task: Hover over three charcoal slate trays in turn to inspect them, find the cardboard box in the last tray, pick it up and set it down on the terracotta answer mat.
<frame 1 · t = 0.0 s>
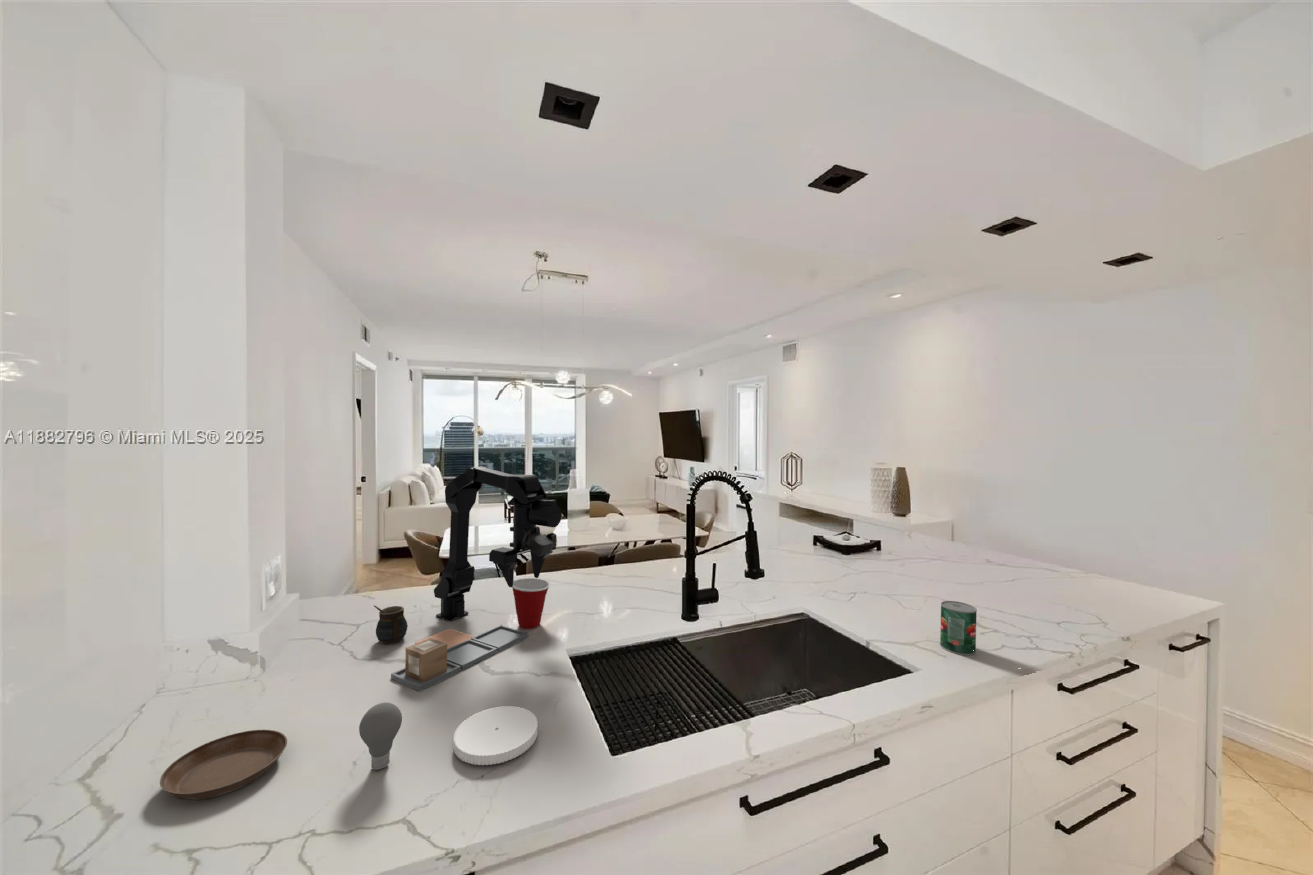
hand: (523, 582, 125), 15 cm above the worktop, fingers open, 9 cm apart
plastic cup: (530, 625, 134), on the worktop
mate gourd: (390, 641, 122), on the worktop
light bulb: (380, 767, 77), on the worktop
answer mat: (445, 641, 123), on the worktop
canned tomato: (957, 649, 124), on the worktop
plastic lid: (496, 744, 84), on the worktop
tray A: (426, 674, 106), on the worktop
tray B: (466, 655, 115), on the worktop
saucer: (227, 776, 75), on the worktop
tray C: (499, 639, 124), on the worktop
cardboard box: (426, 672, 106), resting on tray A
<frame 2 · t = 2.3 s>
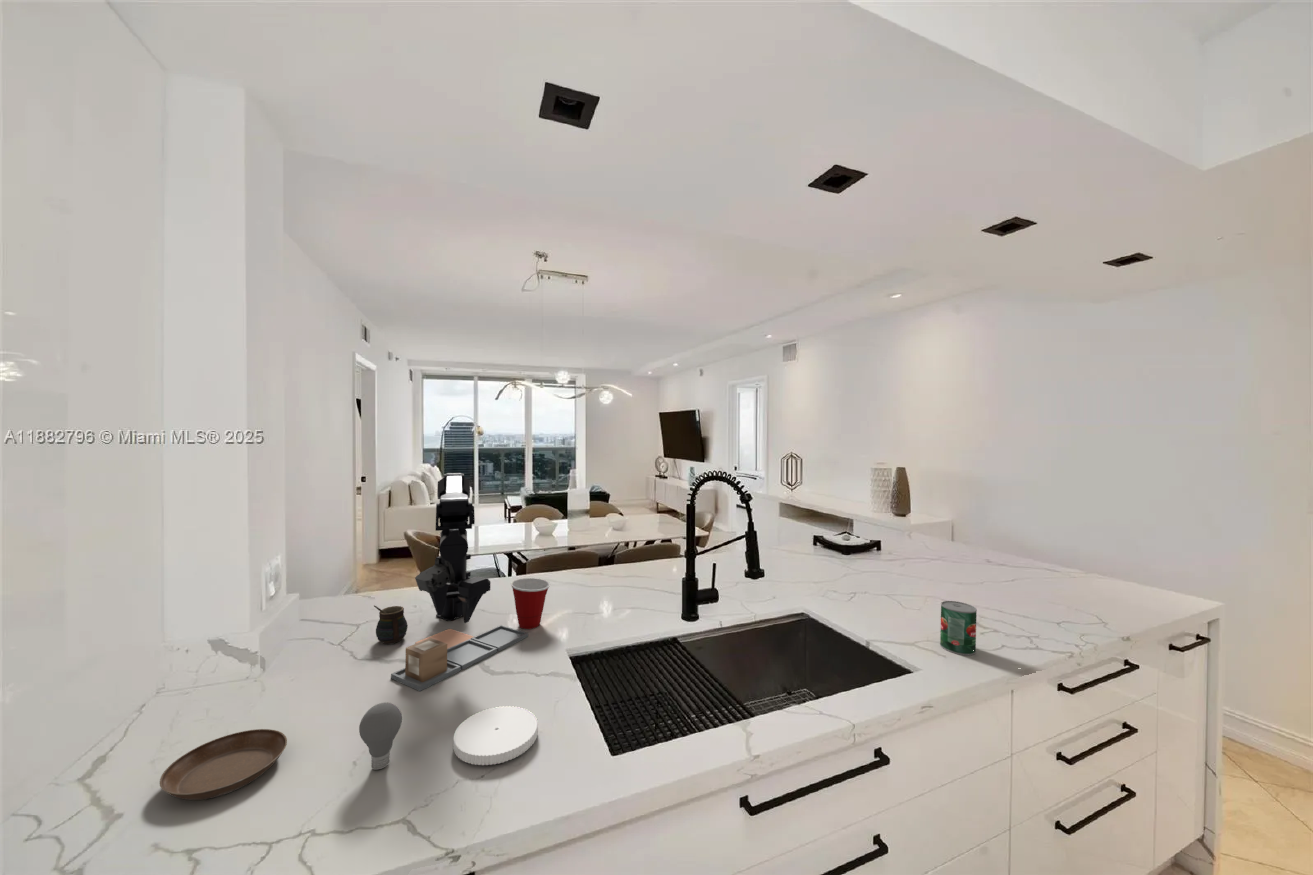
hand: (452, 618, 111), 10 cm above the worktop, fingers open, 9 cm apart
nothing on the worktop moved.
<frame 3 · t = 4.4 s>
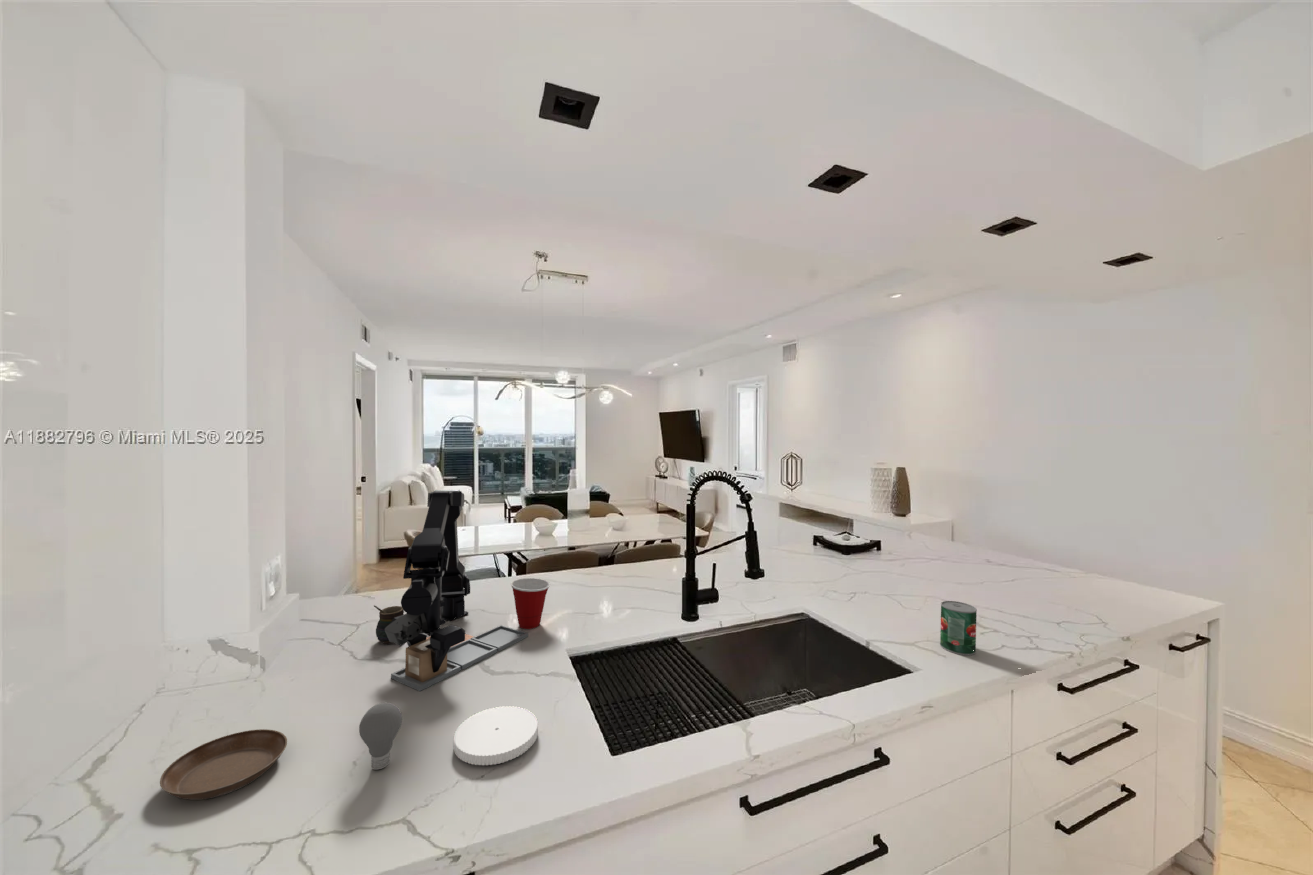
hand: (426, 668, 106), 1 cm above the worktop, fingers closed on cardboard box, 6 cm apart
cardboard box: (426, 672, 106), resting on tray A, touching gripper
everything else where it was.
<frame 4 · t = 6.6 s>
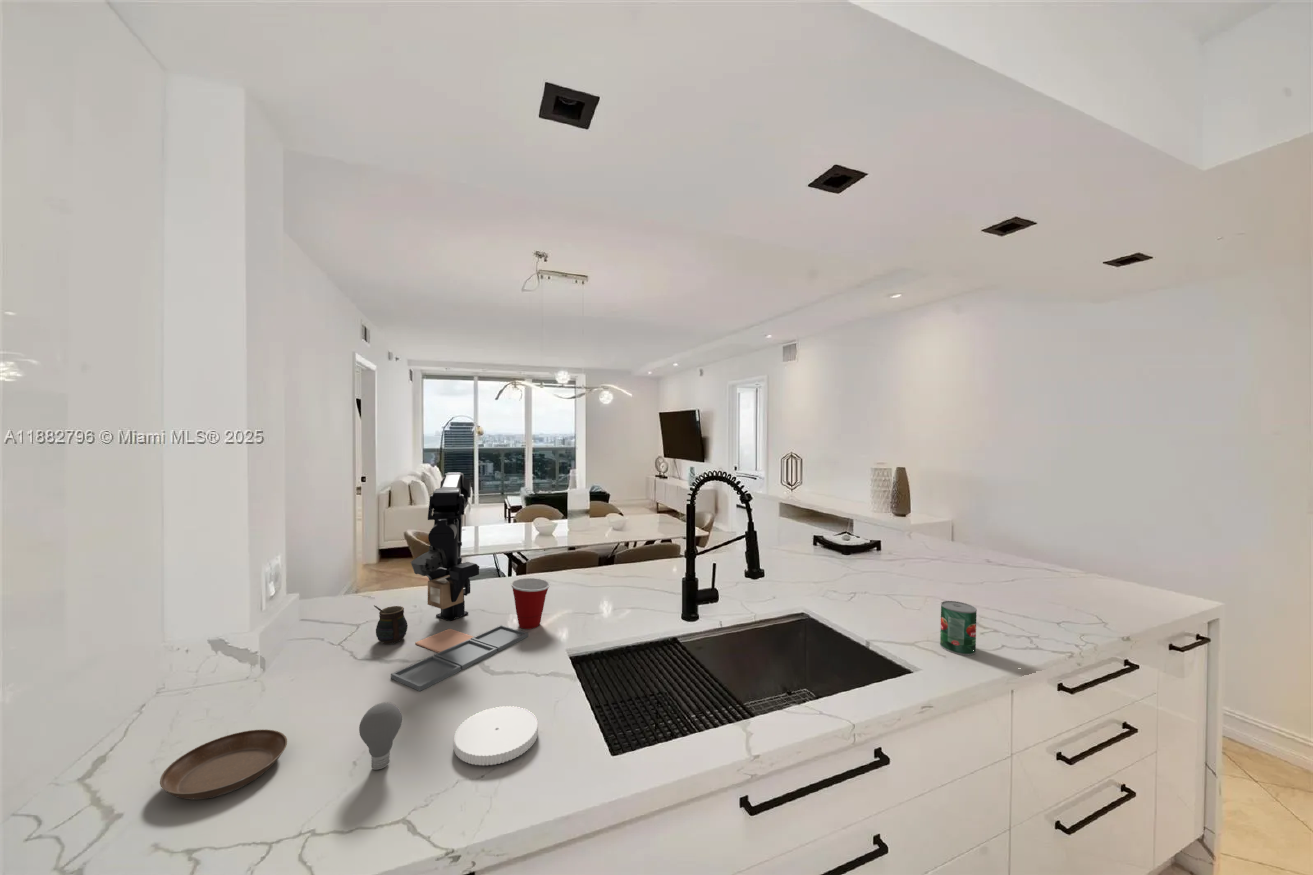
hand: (445, 599, 122), 11 cm above the worktop, fingers closed on cardboard box, 6 cm apart
cardboard box: (445, 603, 122), point 10 cm above the worktop, touching gripper
everything else where it was.
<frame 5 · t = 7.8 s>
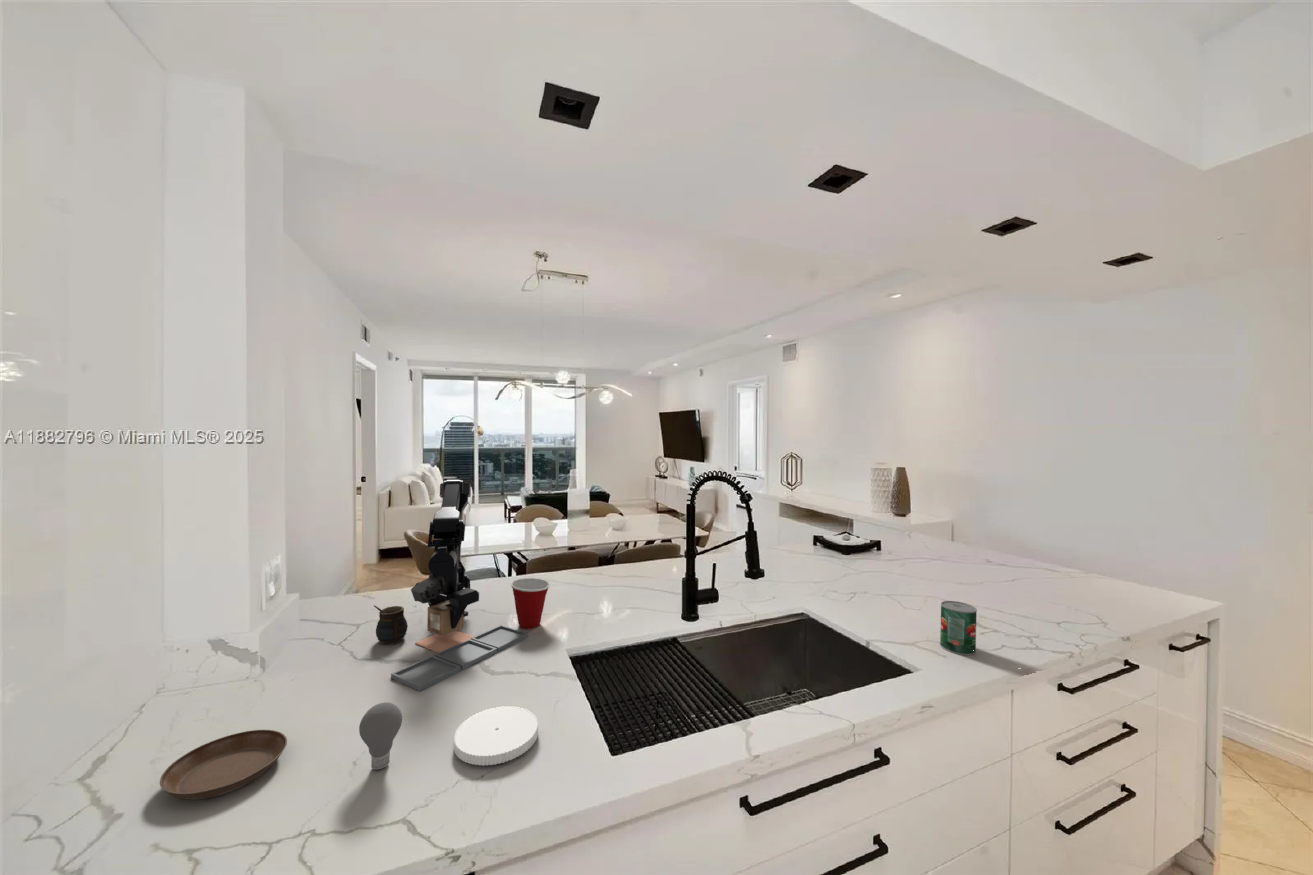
hand: (445, 625, 123), 4 cm above the worktop, fingers closed on cardboard box, 6 cm apart
cardboard box: (445, 629, 123), point 3 cm above the worktop, touching gripper
everything else where it was.
when the fingers open (3 cm above the worktop, at t = 8.6 s): cardboard box drops 1 cm, resting on answer mat.
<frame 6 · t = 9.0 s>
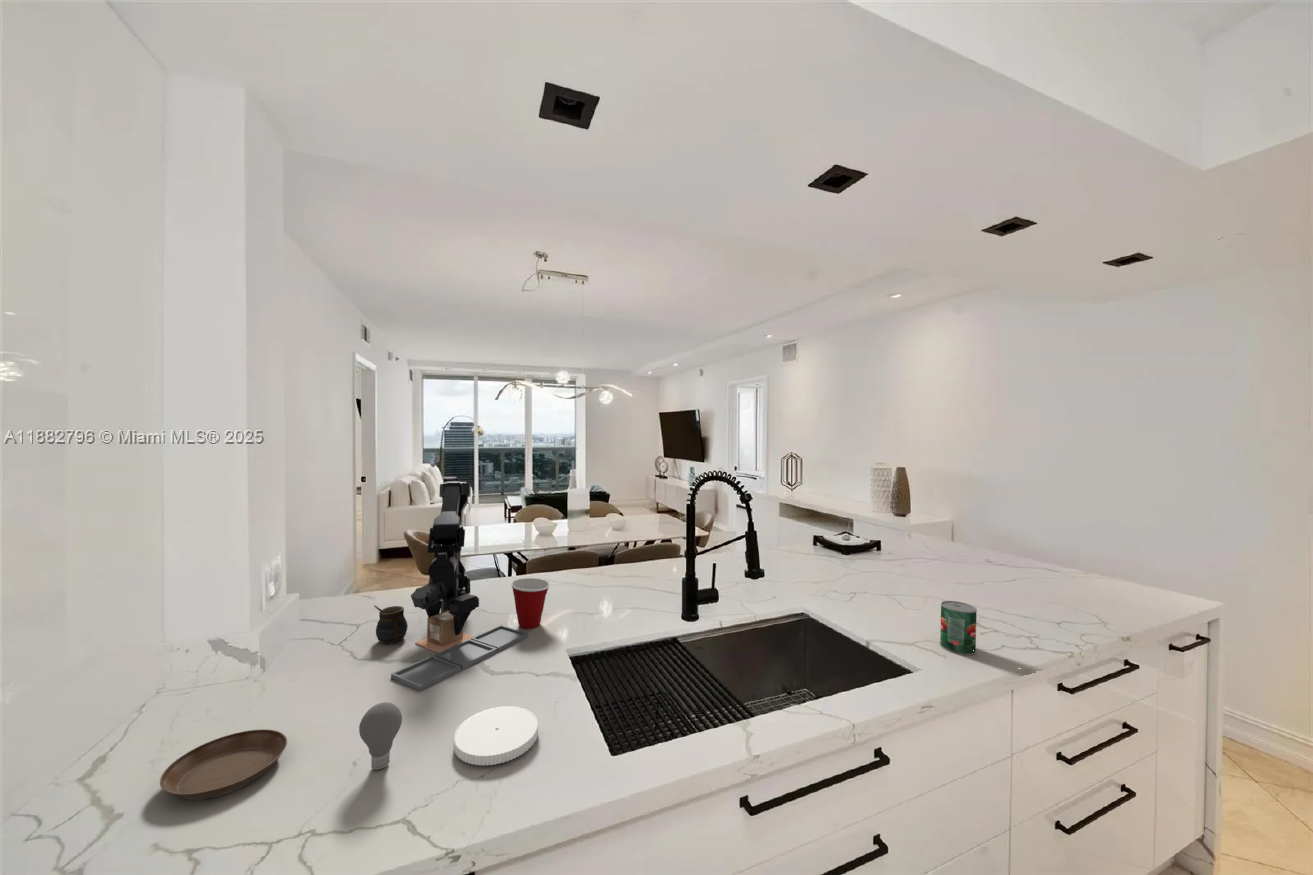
hand: (445, 631, 123), 3 cm above the worktop, fingers open, 9 cm apart
cardboard box: (445, 639, 123), resting on answer mat
everything else where it was.
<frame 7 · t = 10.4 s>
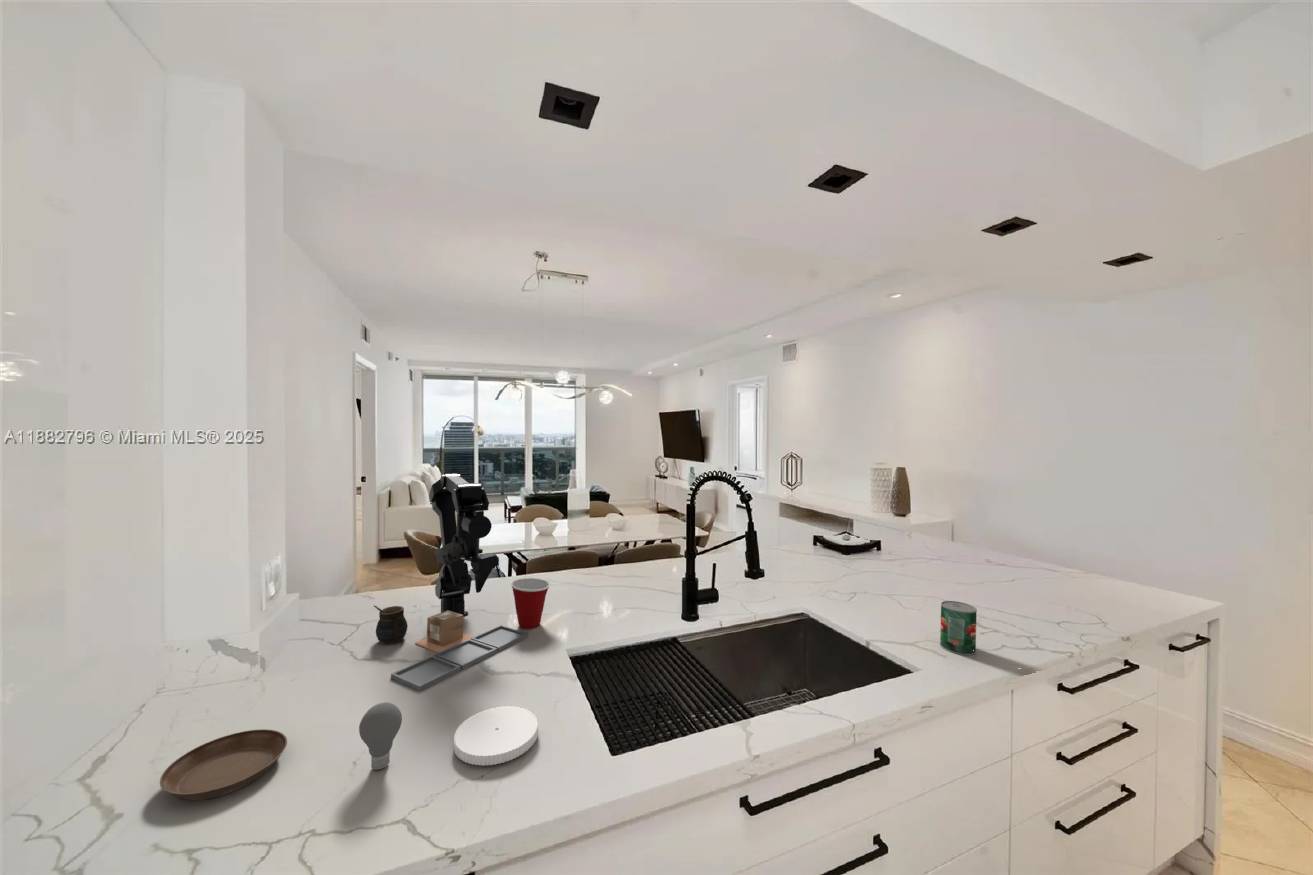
hand: (467, 588, 128), 12 cm above the worktop, fingers open, 9 cm apart
nothing on the worktop moved.
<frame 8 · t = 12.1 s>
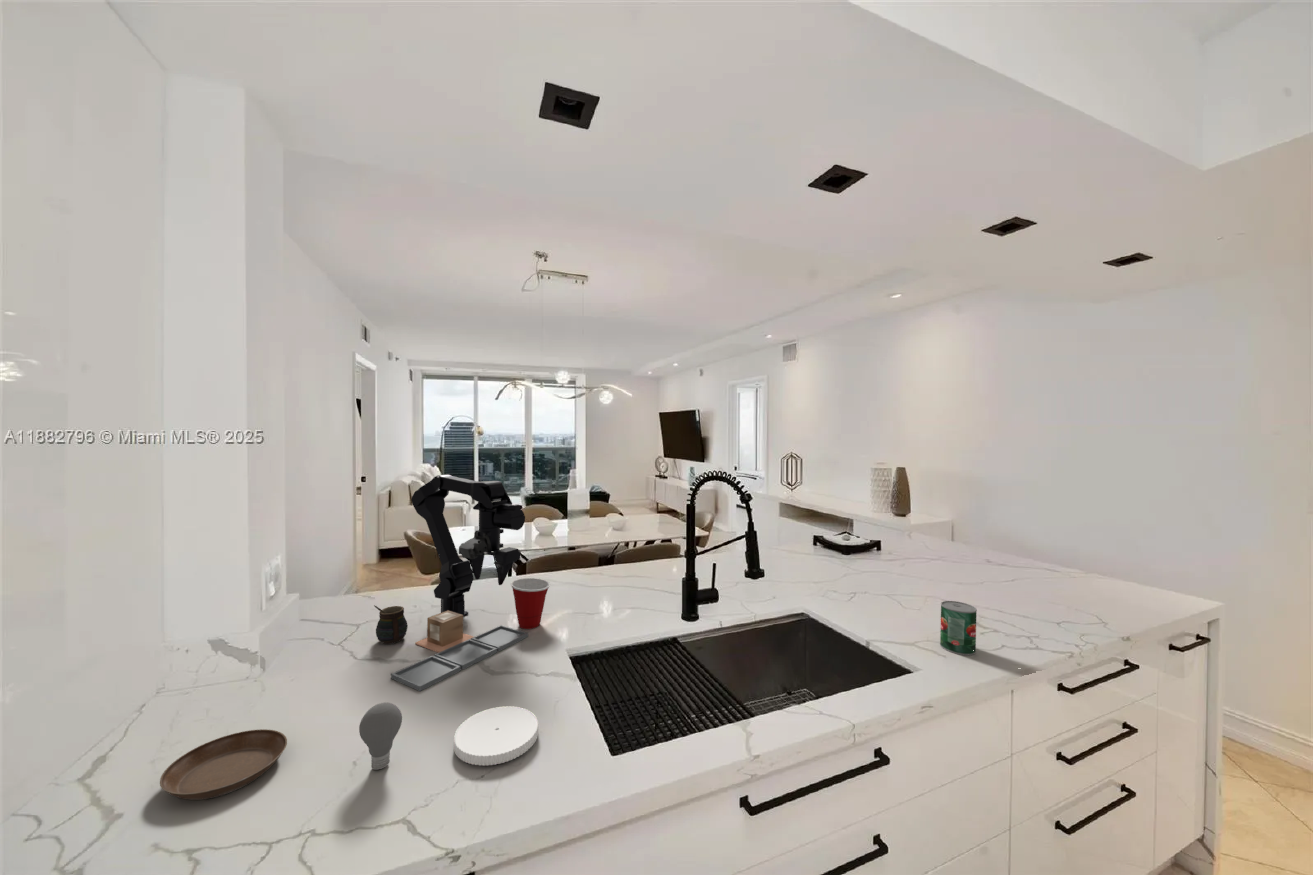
hand: (488, 582, 133), 12 cm above the worktop, fingers open, 9 cm apart
nothing on the worktop moved.
at the end: cardboard box inside the target area on the answer mat (0.1 cm from its centre), point 0.4 cm above the answer mat's base; cardboard box tilted 0°; the gripper is holding nothing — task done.
